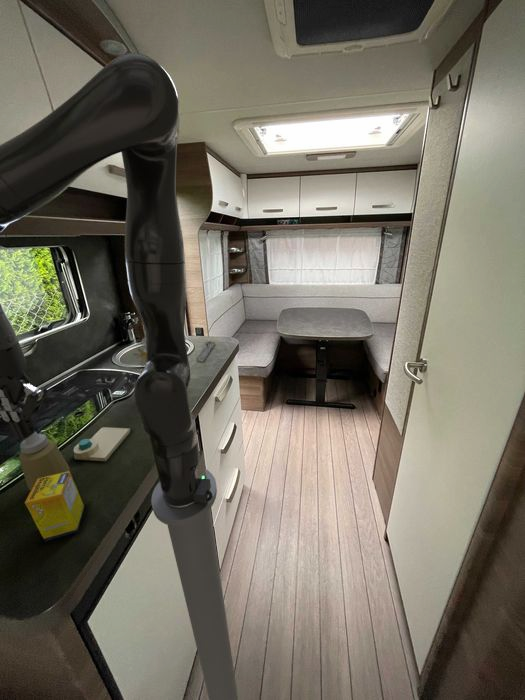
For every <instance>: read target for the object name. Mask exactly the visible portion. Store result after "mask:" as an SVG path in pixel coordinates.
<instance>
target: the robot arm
mask: <svg viewBox="0 0 525 700" xmlns="http://www.w3.org/2000/svg"><path fill="white" fill-rule="evenodd" d="M180 115H181V112H180V100H179V96H178V92H177V88H176V86H175V83H174V82H173V80H172V78H171V76H170V75H169V73H168V72H167V71H166V70H165V68H164V67H163V66H162V65H161V64H160V63H158V62H157V60H155V59H153V58H151V57H150V56H148V55H145V54H142V53H138V52H127V53H122V54H120V55H118V56H116V57H115V58H113V59H112V60H111V61H109V62H108V63H107V64H106V65H105V66H104V67H103V68H101V69H100V70H99V71H98V72H97V73H95V74H94V75H93V76H92V78H90V79H89V80H88V81H87V82H86V83H85V84H84V85H83V86H82V87H81V88H80V89H78V90H77V92H75V93H74V94H73V95H72V96H71V97H69V98H68V99H67V100H66V101H64V102H63V103H62V104H60V105H59V106H58V107H56V108H55V109H54V110H52V111H51V112H50V113H49V114H48V115H46V116H44V117H43V118H42V119H41V120H39V121H38V122H36V123H35V124H33V125H32V126H30V127H29V128H27V129H26V130H24V131H23V132H21V133H19V134H18V135H15V136H14V137H12V138H10V139H9V140H7V141H5V142H2V143H1V144H0V233H2V232H3V231H4V230H5V229H6V228H7V227H8V226H10V224H12V223H14V222H16V221H18V220H21V219H22V218H24V217H26V216H28V215H30V214H31V213H33V212H34V211H36V210H38V209H40V208H42V207H43V206H46V205H47V204H48V203H50V202H52V201H53V200H54V199H56V198H57V197H58V196H60V195H61V194H62V193H64V192H65V191H66V190H67V189H68V188H69V187H70V186H71V185H72V184H73V183H75V182H76V180H77V179H78V178H80V177H81V176H82V175H84V174H85V172H87V171H88V170H89V169H91V168H92V167H94V166H96V165H98V163H101V162H102V161H104V160H106V159H108V158H110V157H112V156H114V155H116V154H119V153H121V157H122V158H121V159H122V164H123V171H124V175H125V182H126V195H127V196H126V210H125V222H124V223H125V224H124V258H125V267H126V277H127V284H128V288H129V293H130V296H131V299H132V302H133V304H134V307H135V310H136V312H137V313H138V316H139V318H140V320H141V323H142V325H143V328H144V334H145V339H146V346H145V347H146V365H145V366H144V368H143V369H142V371H141V372H140V374H139V376H138V377H137V379H136V381H135V383H134V387H133V388H134V390H133V393H134V400H135V404H136V407H137V411H138V415H139V417H140V421H141V425H142V428H143V430H144V431H145V432H146V433H147V435H148V437H149V440H150V445H151V449H152V453H153V457H154V460H155V461H154V463H155V466H156V470H157V475H158V480H159V481H158V483H160V484H161V485H160V487H161V489H162V492H163V498H164V501H165V503H166V504H167V505H168V506H169V507H171V508H175V509H182V508H186V507H189V506H191V505H193V504H199V503H206V502H208V501H210V500H211V499H212V497H213V495H212V493H211V491H210V488H211V484H210V479H207V476H206V470H207V469H206V463H205V456H204V451H203V450H200V446H199V440H198V434H197V427H196V426H197V425H196V418H195V416H194V414H193V412H191V410H190V405H189V397H188V390H189V386H190V383H191V367H190V361H189V355H188V349H187V343H186V334H185V331H186V330H185V323H186V321H185V320H186V306H187V305H186V303H187V301H186V299H187V298H186V297H187V278H186V257H185V245H184V239H183V230H182V226H181V224H182V223H181V220H180V214H179V209H178V208H179V207H178V201H177V191H176V190H177V189H176V186H177V185H176V184H177V183H176V182H177V181H176V180H177V179H176V177H177V153H178V141H179V134H180V120H181V119H180V117H181V116H180ZM19 341H20V340H19V338H18V337H17V334H16V331H15V328H14V326H13V324H12V322H11V321H10V319H9V317H8V315H7V314H6V311H5V309H4V307H3V304H2V302H1V301H0V418H2V420H3V421H4V422H7V423H8V425H9V427H10V429H11V431H12V433H13V435H14V437H15V438H16V439H23V440H25V439H26V438H28V437H29V436H31V435H32V434H33V433H34V432H35V431H36V426H35V424H34V422H33V419H32V416H33V415H35V414H37V413H39V412H40V410H41V407H42V406H43V403H44V400H45V398H46V396H47V394H48V389H47V387H45V386H41V387H39V388H38V387H36V386H35V385H32V384H31V383H32V382H31V379H30V377H28V375H27V374H26V372H25V368H26V366H27V363H28V362H27V359H26V356H25V354H24V352H23V349H22V346H21V344H20V342H19ZM208 495H209V497H208ZM207 497H208V498H207Z"/></svg>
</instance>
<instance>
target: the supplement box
mask: <svg viewBox="0 0 525 700" xmlns="http://www.w3.org/2000/svg"><path fill="white" fill-rule="evenodd" d="M24 504H25V506H26V508H27V509H28V512H29V513H30V515H31V517H32V519H33V522H34V523H35V525H36V528H37V530H38V531H39V533H40V535H41V537H42V538H43V541H44V542H47V541H52V540H54V539H57V538H61V537H64V536H68V535H71V534H72V535H73V534H74V533H78V532H79V529H80V525H81V522H82V518H83V515H84V511H85V504H84V502H83V500H82V498H81V495H80V493H79V490H78V487H77V485H76V483H75V481H74V478H73V475H72V473H71V471H70V470H69V471H68V472H64V473H60V474H55V475H51V476H46V477H42V478H38V479H37V481H36V482H35V484H34V486H33V488H32V490H31V491H30V492H29V494H28V495H27V498H26V500H25V501H24Z"/></svg>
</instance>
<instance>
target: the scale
mask: <svg viewBox="0 0 525 700" xmlns="http://www.w3.org/2000/svg"><path fill="white" fill-rule="evenodd" d="M130 433H131V428H125V427H109V426H107V427H105V426H102V427H101V428H100V429H98V431H97V432H96V433H95V434H94V435H92V437H91V438H88V439H89V440H90V442H91V447H90V448H88V449H85V450H81V449H80V447H79V442H78V443H77V444H76V445H75V446H74V447H73V454H74V455H73V458H74V460H81V461H94V462H96V461H97V462H107V461H108V459H109V458H111V456H112V454H113V453H114V452H115V451H116V450H117V449H118V447H120V445H121V444H122V443H123V441H124V440H125V439H126V438H127V437H128V435H129V434H130Z"/></svg>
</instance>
